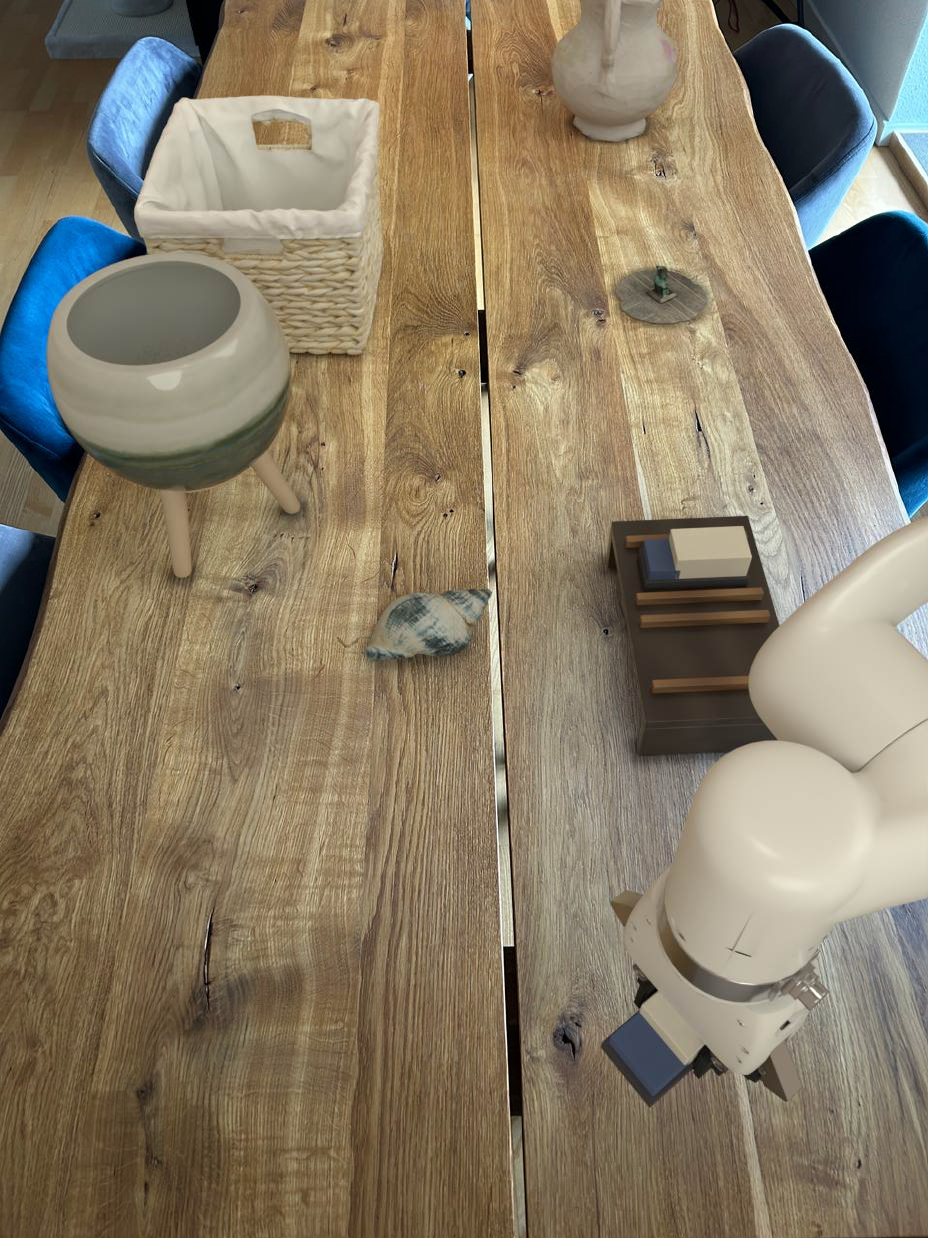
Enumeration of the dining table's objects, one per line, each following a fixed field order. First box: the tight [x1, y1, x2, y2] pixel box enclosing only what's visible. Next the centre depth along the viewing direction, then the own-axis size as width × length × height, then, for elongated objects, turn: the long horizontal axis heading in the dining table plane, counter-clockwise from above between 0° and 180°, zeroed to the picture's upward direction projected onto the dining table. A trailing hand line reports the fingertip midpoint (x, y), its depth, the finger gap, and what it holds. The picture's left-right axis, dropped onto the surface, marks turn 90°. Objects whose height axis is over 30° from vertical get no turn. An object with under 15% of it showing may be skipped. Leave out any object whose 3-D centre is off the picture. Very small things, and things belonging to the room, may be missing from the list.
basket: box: [133, 94, 385, 356], centre depth 128 cm, size 27×27×22 cm
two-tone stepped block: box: [638, 526, 752, 590], centre depth 97 cm, size 10×4×4 cm, turn 92°
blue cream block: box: [600, 991, 707, 1109], centre depth 63 cm, size 10×4×4 cm, turn 127°
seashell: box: [364, 588, 493, 663], centre depth 100 cm, size 6×8×12 cm
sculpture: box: [615, 265, 707, 325], centre depth 136 cm, size 12×9×8 cm
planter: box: [45, 253, 301, 579], centre depth 102 cm, size 22×22×28 cm
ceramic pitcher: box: [551, 0, 679, 143], centre depth 155 cm, size 22×20×25 cm
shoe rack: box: [605, 515, 780, 757], centre depth 98 cm, size 14×24×7 cm, turn 2°
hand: (683, 1024), depth 65 cm, fingers closed on blue cream block, 4 cm apart
